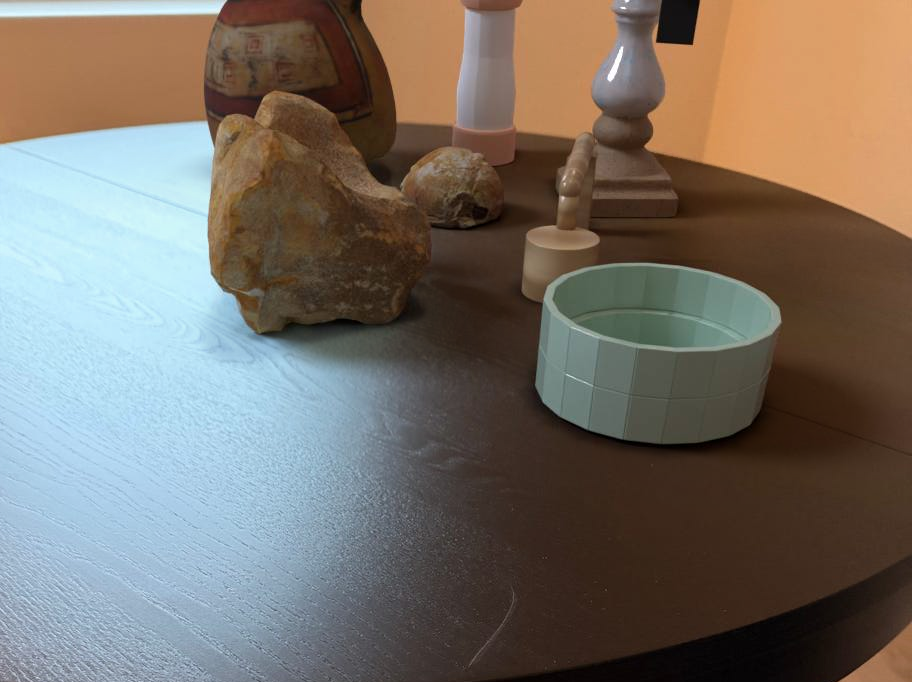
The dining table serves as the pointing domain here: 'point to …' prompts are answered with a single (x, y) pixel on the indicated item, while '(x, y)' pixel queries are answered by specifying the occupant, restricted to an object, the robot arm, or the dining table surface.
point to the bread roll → (455, 188)
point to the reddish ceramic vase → (301, 66)
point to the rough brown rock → (308, 222)
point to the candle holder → (629, 120)
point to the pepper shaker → (487, 81)
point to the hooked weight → (565, 226)
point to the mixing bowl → (655, 352)
